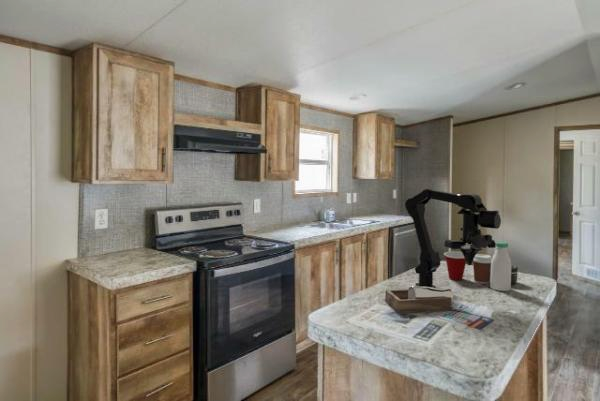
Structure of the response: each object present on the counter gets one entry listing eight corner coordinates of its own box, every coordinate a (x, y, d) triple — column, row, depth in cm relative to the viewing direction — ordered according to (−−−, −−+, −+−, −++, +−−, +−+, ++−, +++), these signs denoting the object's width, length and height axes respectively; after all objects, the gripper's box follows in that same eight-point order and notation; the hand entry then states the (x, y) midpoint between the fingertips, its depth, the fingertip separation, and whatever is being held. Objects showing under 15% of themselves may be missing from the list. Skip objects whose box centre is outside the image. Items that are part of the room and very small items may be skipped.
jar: (517, 281, 172) (518, 264, 171) (516, 286, 164) (517, 269, 163) (493, 277, 177) (494, 262, 177) (491, 283, 169) (491, 266, 168)
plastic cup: (440, 279, 175) (440, 253, 174) (447, 274, 183) (447, 250, 183) (464, 283, 168) (465, 257, 167) (470, 278, 177) (471, 253, 176)
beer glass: (453, 307, 137) (415, 306, 134) (443, 303, 144) (406, 302, 141) (454, 288, 137) (416, 286, 135) (443, 285, 144) (407, 284, 142)
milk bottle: (513, 292, 156) (515, 244, 154) (493, 291, 157) (494, 244, 156) (506, 286, 163) (508, 241, 162) (487, 285, 165) (489, 240, 163)
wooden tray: (384, 300, 145) (384, 289, 145) (432, 298, 148) (433, 287, 148) (399, 313, 131) (399, 301, 131) (452, 310, 134) (452, 298, 134)
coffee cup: (475, 277, 177) (476, 252, 176) (496, 281, 171) (497, 255, 170) (467, 281, 171) (468, 255, 170) (488, 285, 164) (489, 259, 164)
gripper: (460, 229, 138) (459, 271, 139) (506, 228, 141) (504, 269, 142) (444, 225, 149) (443, 264, 150) (487, 224, 152) (485, 262, 153)
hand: (469, 265), depth 148 cm, fingers closed
